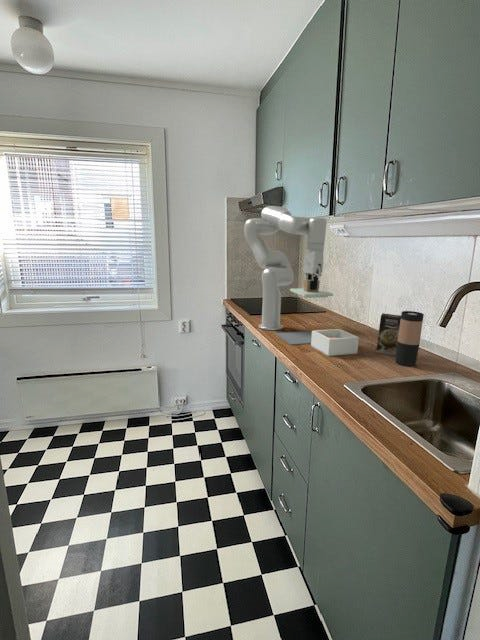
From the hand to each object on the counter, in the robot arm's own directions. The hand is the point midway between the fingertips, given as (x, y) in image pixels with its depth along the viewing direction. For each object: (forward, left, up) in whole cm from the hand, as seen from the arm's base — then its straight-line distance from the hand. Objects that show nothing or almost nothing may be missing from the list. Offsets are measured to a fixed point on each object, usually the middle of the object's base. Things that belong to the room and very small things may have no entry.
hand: (311, 288), depth 154 cm
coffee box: (+24, +26, -25) cm, 43 cm away
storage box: (+15, +5, -25) cm, 29 cm away
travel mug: (+37, +23, -25) cm, 50 cm away
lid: (0, 0, -2) cm, 2 cm away
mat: (-4, -1, -25) cm, 25 cm away
